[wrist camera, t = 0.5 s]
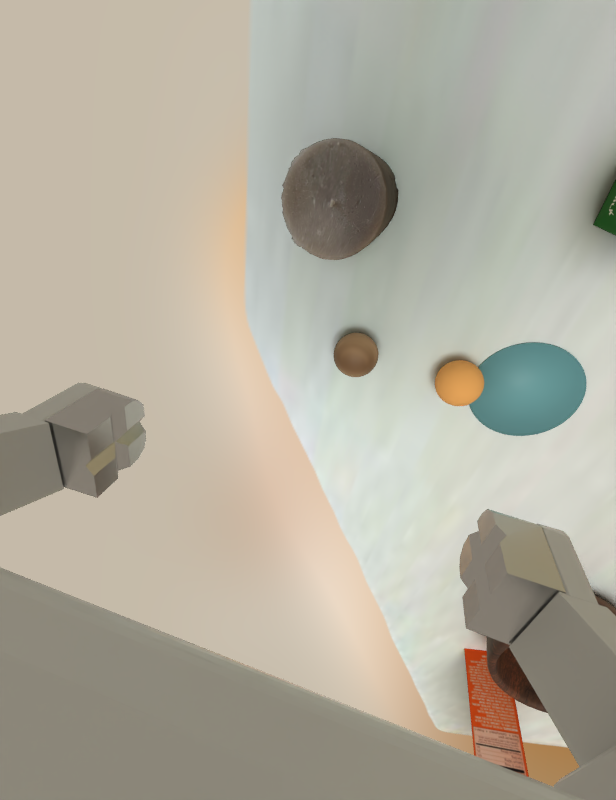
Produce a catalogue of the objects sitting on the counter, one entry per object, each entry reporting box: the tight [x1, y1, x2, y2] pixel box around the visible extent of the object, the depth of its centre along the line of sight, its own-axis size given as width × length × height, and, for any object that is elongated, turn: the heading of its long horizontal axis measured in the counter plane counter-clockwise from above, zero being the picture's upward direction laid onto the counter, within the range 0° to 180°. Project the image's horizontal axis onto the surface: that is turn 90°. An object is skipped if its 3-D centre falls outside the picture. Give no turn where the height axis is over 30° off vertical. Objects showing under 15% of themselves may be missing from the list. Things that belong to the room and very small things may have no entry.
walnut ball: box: [334, 333, 378, 377], centre depth 51 cm, size 6×6×6 cm
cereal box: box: [464, 648, 529, 777], centre depth 71 cm, size 23×8×30 cm, turn 15°
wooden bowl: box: [487, 596, 616, 713], centre depth 65 cm, size 25×25×10 cm
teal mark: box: [469, 343, 586, 436], centre depth 51 cm, size 14×14×1 cm
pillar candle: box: [281, 138, 398, 260], centre depth 38 cm, size 10×10×15 cm
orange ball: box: [435, 360, 484, 406], centre depth 49 cm, size 6×6×6 cm
